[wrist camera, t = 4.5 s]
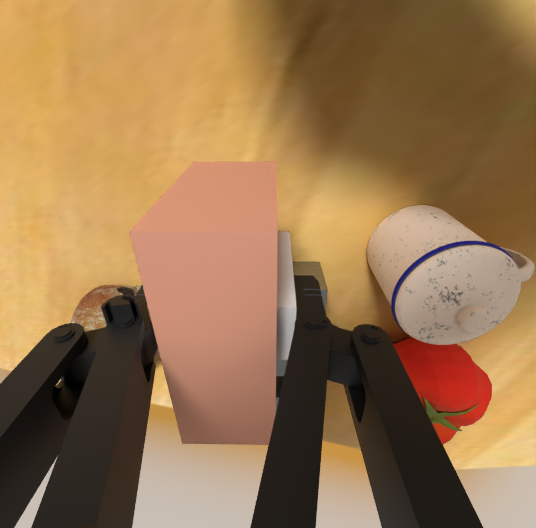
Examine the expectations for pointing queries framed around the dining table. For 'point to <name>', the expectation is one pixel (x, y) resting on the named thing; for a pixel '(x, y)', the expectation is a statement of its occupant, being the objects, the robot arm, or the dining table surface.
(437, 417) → the tomato
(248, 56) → the dining table surface
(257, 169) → the chamfered pink post
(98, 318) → the bread roll
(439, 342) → the teacup with lid
